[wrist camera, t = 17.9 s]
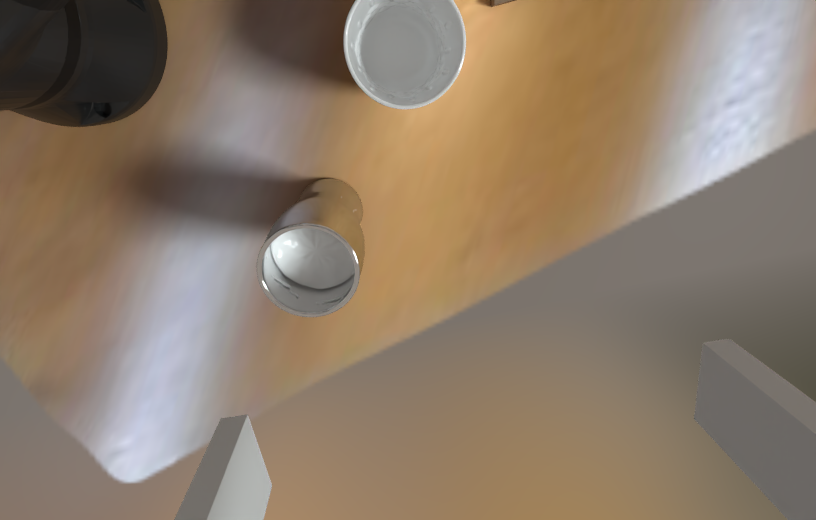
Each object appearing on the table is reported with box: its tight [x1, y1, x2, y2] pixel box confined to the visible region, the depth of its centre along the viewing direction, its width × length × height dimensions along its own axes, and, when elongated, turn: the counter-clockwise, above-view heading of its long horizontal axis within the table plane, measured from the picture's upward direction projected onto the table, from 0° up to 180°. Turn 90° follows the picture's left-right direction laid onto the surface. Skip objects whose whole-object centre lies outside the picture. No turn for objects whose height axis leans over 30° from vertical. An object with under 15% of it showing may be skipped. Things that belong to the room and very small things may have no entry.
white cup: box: [343, 0, 466, 109], centre depth 34 cm, size 8×8×10 cm
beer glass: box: [257, 179, 365, 317], centre depth 36 cm, size 7×7×15 cm
